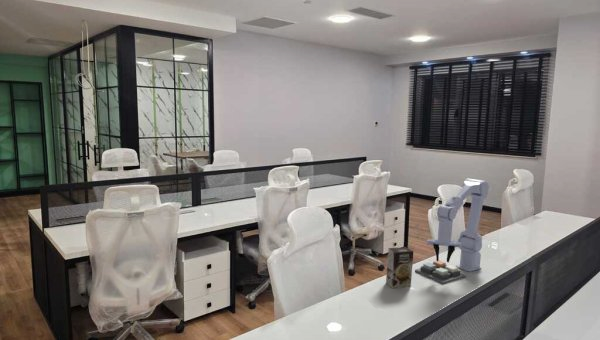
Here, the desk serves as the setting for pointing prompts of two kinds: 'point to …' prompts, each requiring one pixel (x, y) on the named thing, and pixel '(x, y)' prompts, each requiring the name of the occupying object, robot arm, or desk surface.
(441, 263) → the terracotta key
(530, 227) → the desk surface
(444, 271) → the sage key
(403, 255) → the coffee box
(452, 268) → the cream key
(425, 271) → the keypad
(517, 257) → the desk surface
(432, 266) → the slate key
